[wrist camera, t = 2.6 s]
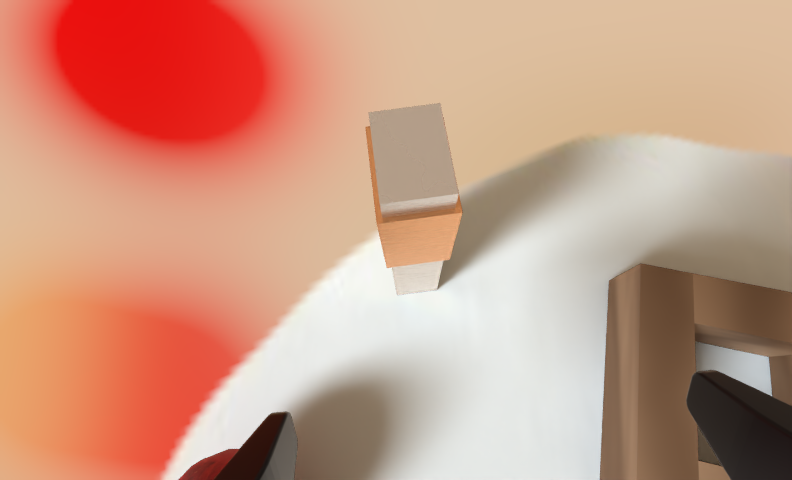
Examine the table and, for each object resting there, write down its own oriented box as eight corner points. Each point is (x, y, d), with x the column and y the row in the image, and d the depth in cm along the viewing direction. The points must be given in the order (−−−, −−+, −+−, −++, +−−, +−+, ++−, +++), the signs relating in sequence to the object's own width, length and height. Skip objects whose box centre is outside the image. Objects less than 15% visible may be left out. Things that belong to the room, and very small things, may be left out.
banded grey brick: (440, 292, 24) (466, 198, 12) (393, 299, 24) (373, 210, 12) (430, 233, 25) (445, 97, 13) (386, 239, 25) (361, 108, 13)
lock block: (599, 491, 20) (636, 511, 16) (608, 280, 23) (640, 263, 20) (844, 554, 18) (937, 590, 15) (813, 321, 22) (883, 310, 19)
